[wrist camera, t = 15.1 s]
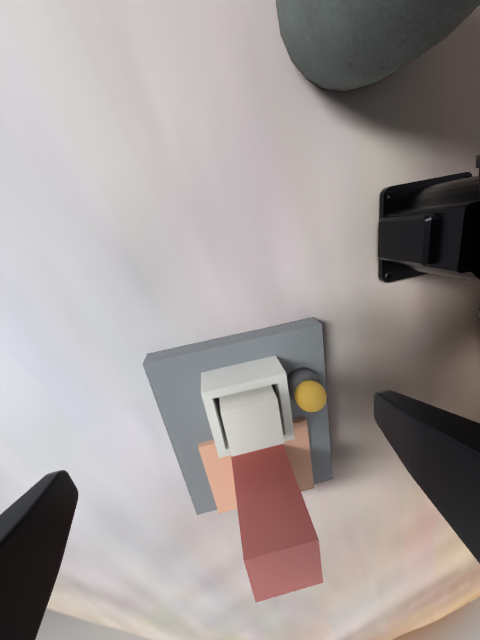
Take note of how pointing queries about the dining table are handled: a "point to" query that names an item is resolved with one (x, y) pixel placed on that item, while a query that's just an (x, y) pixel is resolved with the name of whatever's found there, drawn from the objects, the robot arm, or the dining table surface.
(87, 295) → the dining table surface
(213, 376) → the panel
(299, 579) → the red rectangular block
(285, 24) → the bottle
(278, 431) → the block
